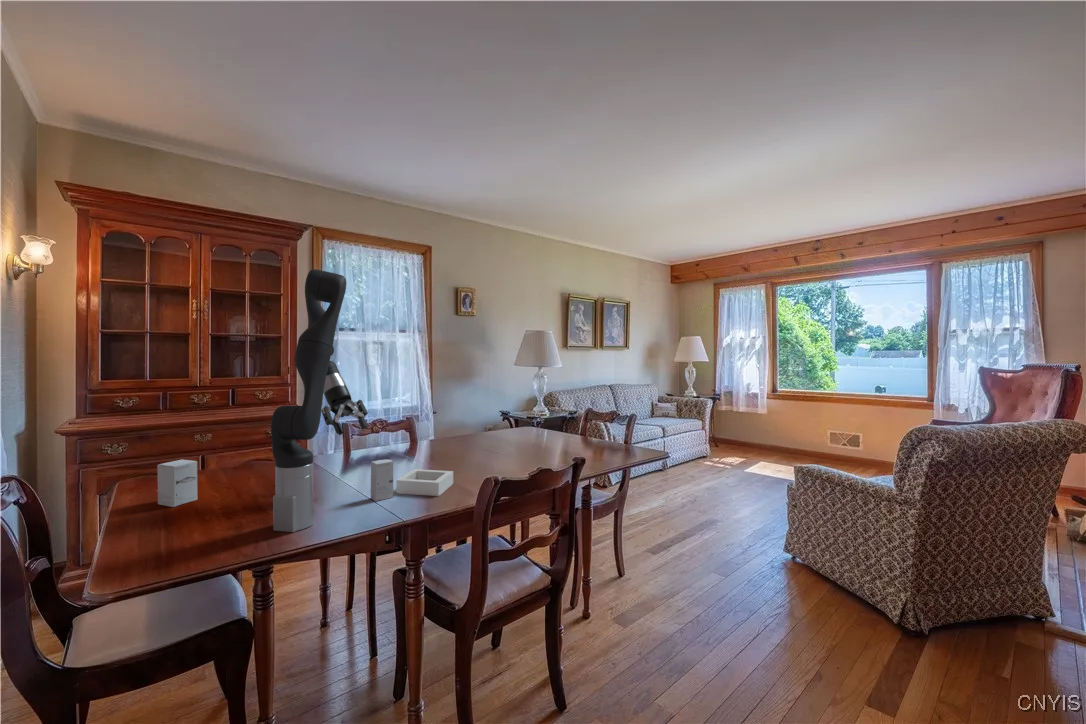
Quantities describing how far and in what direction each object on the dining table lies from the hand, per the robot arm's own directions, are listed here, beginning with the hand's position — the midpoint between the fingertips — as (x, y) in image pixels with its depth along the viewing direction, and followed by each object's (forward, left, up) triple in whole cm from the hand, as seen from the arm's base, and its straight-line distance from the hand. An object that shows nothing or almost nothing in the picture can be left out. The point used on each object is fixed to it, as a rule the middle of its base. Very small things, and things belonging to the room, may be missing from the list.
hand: (353, 431), depth 156 cm
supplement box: (-18, +49, -21) cm, 56 cm away
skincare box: (-2, -11, -21) cm, 24 cm away
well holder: (+10, -21, -21) cm, 32 cm away
